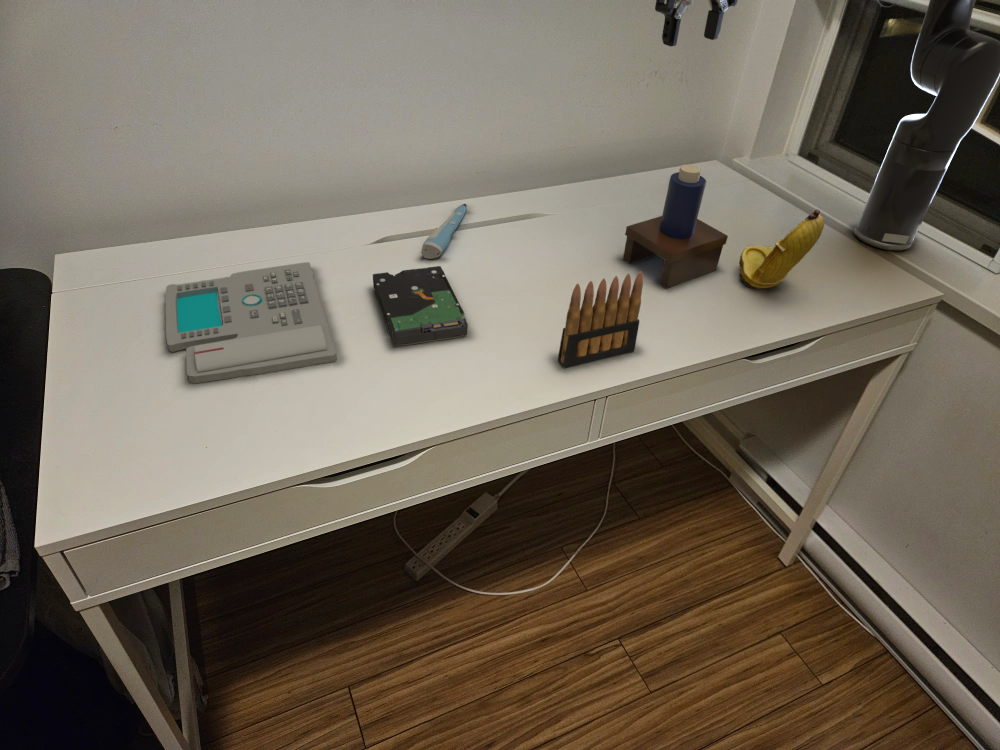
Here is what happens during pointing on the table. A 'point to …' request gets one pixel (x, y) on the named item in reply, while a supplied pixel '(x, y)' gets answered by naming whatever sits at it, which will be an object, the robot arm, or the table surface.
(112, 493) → the table surface
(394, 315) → the disk drive
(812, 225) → the shrine
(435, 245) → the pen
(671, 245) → the brown wooden stand
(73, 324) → the table surface
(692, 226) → the bottle
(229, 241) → the table surface
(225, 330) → the office telephone
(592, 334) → the ammunition clip
